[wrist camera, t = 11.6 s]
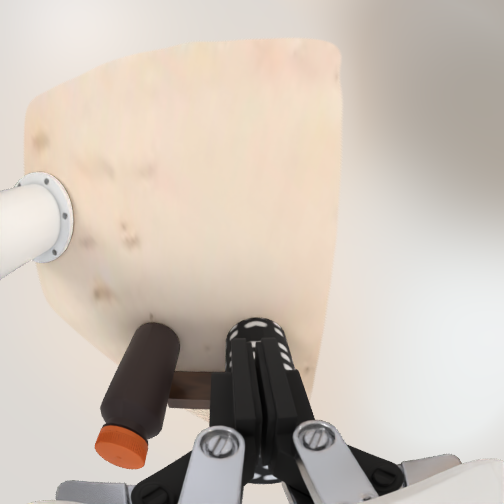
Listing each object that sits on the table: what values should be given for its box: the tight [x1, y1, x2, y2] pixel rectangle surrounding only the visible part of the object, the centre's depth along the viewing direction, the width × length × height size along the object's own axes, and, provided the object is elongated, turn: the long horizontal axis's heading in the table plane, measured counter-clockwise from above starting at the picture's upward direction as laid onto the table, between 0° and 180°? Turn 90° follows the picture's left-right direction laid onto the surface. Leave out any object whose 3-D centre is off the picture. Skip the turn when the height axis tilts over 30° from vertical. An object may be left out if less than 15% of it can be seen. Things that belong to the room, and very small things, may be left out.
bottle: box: [95, 323, 180, 469], centre depth 28 cm, size 7×7×20 cm
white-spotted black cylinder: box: [225, 318, 295, 484], centre depth 29 cm, size 8×8×20 cm
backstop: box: [168, 371, 212, 409], centre depth 37 cm, size 14×2×6 cm, turn 90°
